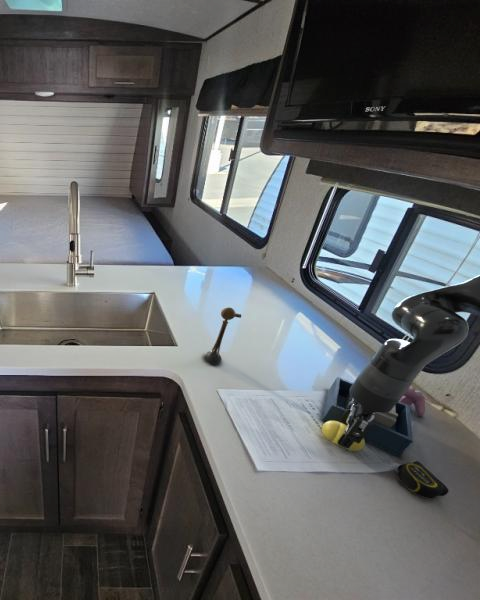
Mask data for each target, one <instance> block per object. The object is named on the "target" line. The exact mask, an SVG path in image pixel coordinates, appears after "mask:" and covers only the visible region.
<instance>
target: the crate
mask: <svg viewBox="0 0 480 600" xmlns="http://www.w3.org/2000/svg"><path fill="white" fill-rule="evenodd" d="M353 383H354V382H352V381H349V380H347V379H345V378H342V377H340V376H337V377H336V378H335V379H334V381H333V383H332V384H331V386H330V388H329V389H328V391H327V396H326V401H325V405H324V410H323V415H322V421H323V422H324V423H326V422H327V421H338V422H340V423H343V424H345V425H348V424H346V423H344V422H342V421H341V420H340V419H341V417H342V415H343V414H344V413H345V411H346V409H344V401H345V399H346V397H347V396H348V394H349V393H350V391H349V390H350V387H351V386H352V385H353ZM395 407H396V413H397V414H398V417H397V418H396V422H395V423H394V425H393V426H392V427H391V428H390V429H389V428H387V427H384V426H382V425H380V424H378V423H375V422H373V421H370V422H371V423H373V426H372V427H371V429H370V430H369V431H368V433H367V434H366V435H365V436H364V440H365V442H368V443H369V444H371V445H374V446H376V447H377V448H381V449H382V450H384V451H387V452H388V453H390V454H392V455H395V456H397V457H400V456H401V455H402V454H403V453H404V452H405V451H406V450H407V449H408V447H410V445H411V444H412V443H413V442H414V438H413V437H414V436H413V428H412V427H413V426H412V416H411V405H410V406H409V405H406V404H404V403H401V402H399V401H398V402H397V404H396V405H395ZM354 422H355V420H354V421H353V423H354Z"/></svg>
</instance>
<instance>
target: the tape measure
mask: <svg viewBox="0 0 480 600" xmlns="http://www.w3.org/2000/svg"><path fill="white" fill-rule="evenodd" d="M396 475H397V479H398V480H399V481H400V482H401V483H402V485H403V486H405V487H406V489H408V490H409V491H411V492H412V493H413V494H415V495H417V496H419V497H421V498H424V499H435V498H438V497H445V496H446V495H447V494H449V488H448V487H447V485H445V484H444V482H443V481H441V480H440V479H439V478H438V477H437V476H435V475H434V474H433V473H432V472H431V471H430V470H429V469H428V468H427V467H426V466H424V464H422V463H421V462H420V461H418V460H415V461H413V462H406V463H402V464H399V465H398V466H397V473H396Z"/></svg>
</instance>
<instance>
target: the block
mask: <svg viewBox="0 0 480 600" xmlns="http://www.w3.org/2000/svg"><path fill="white" fill-rule="evenodd" d="M351 397H352V396H351V394H350V393H349V394H348V396H347V397H346V399H345V401H344V409H346V410H347V405H348V404H349V399H350V398H351ZM374 413H375V417H374V419H373V420H371V421H373V422H375V423H378V424H380V425H382V426H384V427H387V428H389V429H390V428H391V427H392V426H393V425H394V423H395V422H396V418H397V417H398V414H397V413H396V407H395V406H394V407H393V408H392V410H391V411H389V412H386V413H381V412H374Z"/></svg>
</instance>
